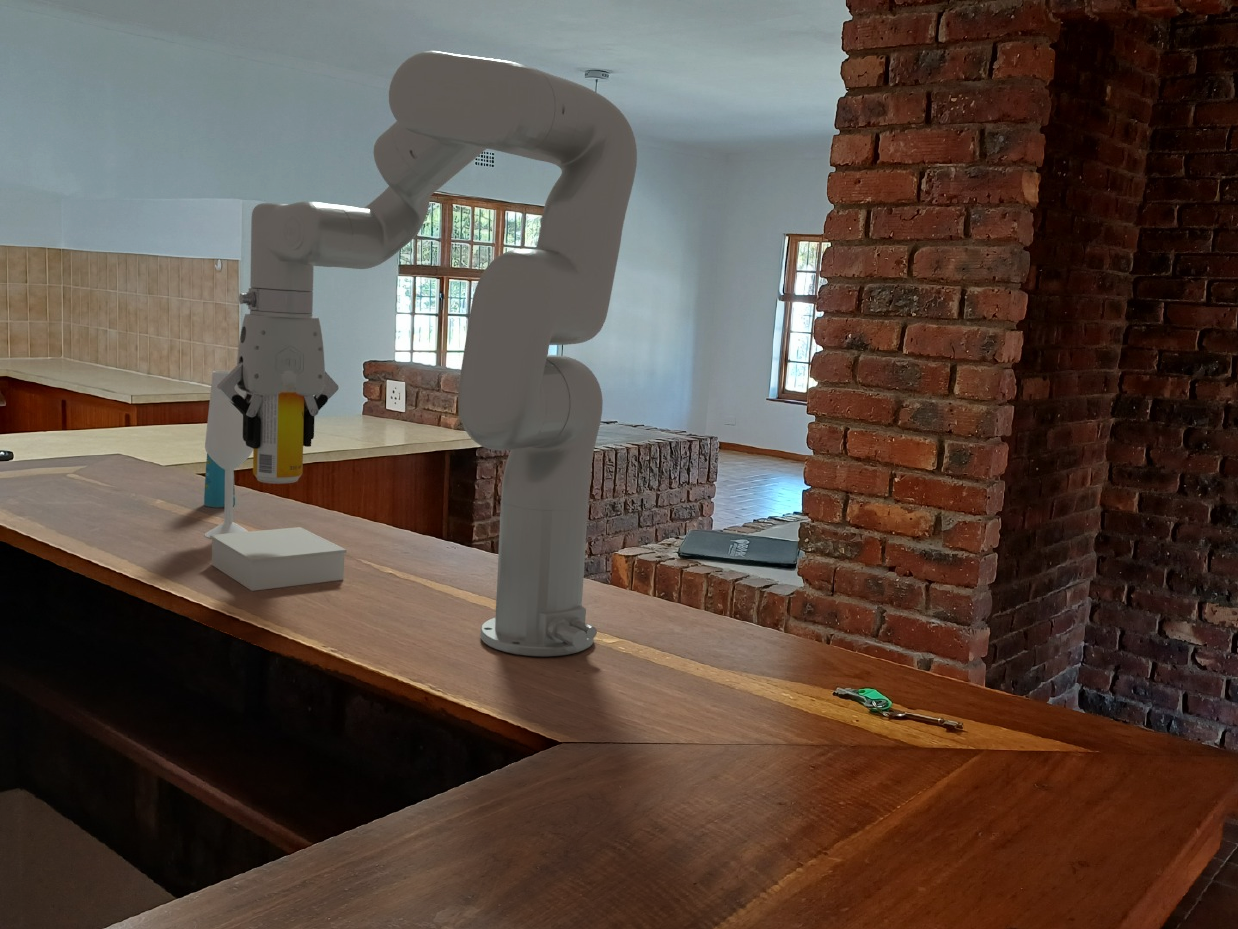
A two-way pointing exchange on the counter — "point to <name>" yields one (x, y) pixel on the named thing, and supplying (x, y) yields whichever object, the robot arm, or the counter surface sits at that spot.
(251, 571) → the riser
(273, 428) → the beer can
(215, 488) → the tube
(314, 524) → the counter surface
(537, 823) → the counter surface
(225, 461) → the champagne flute
